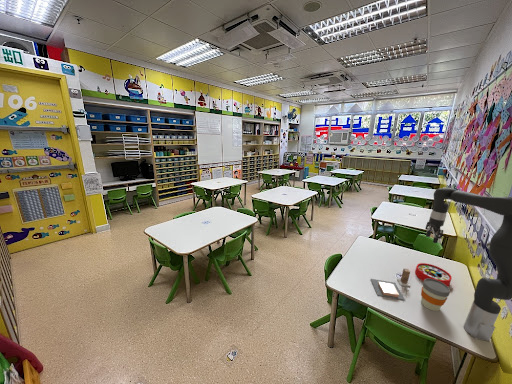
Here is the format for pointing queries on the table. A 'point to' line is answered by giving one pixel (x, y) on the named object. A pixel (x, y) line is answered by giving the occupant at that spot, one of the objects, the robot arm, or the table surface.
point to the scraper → (404, 278)
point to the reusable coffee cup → (434, 294)
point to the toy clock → (432, 273)
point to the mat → (379, 292)
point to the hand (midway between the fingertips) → (431, 239)
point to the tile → (388, 289)
